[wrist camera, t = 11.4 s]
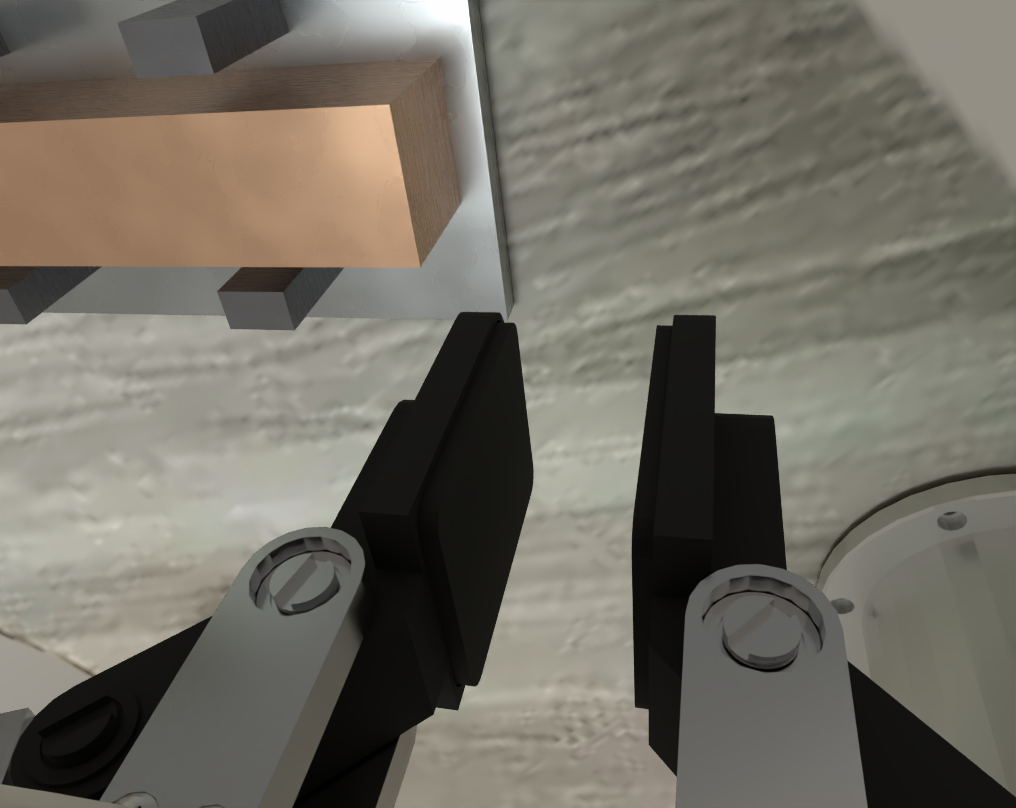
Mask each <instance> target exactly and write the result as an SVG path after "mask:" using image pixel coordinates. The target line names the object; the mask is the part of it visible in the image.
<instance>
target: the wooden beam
mask: <svg viewBox="0 0 1016 808" xmlns="http://www.w3.org/2000/svg"><path fill="white" fill-rule="evenodd" d="M460 205H461V198H460V191H459V185H458V178H457V171H456V164H455V158H454V151H453V144H452V137H451V131H450V124H449V117H448V110H447V104H446V97H445V90H444V83H443V77H442V70H441V63H440V58H424V59H407V60H391V61H374V62H358V63H342V64H325V65H309V66H293V67H276V68H260V69H243V70H227V71H219V72H217V73H215V74H207V75H191V76H176V77H160V78H144V79H138V78H137V76H129V77H112V78H96V79H79V80H63V81H47V82H30V83H14V84H0V266H130V267H369V268H421V266H422V264H423V263H424V261H425V260H426V258H427V257H428V255H429V253H430V252H431V250H432V249H433V247H434V246H435V244H436V242H437V241H438V239H439V238H440V236H441V235H442V233H443V231H444V230H445V228H446V227H447V225H448V223H449V222H450V220H451V219H452V217H453V216H454V214H455V212H456V211H457V209H458V208H459V206H460Z"/></svg>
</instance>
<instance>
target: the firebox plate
mask: <svg viewBox="0 0 1016 808" xmlns="http://www.w3.org/2000/svg"><path fill="white" fill-rule="evenodd" d="M424 58H440V63H441V70H442V77H443V83H444V90H445V97H446V104H447V110H448V117H449V124H450V131H451V137H452V144H453V151H454V158H455V164H456V171H457V178H458V185H459V191H460V198H461V205H460V206H459V208H458V209H457V211H456V212H455V214H454V216H453V217H452V219H451V220H450V222H449V223H448V225H447V227H446V228H445V230H444V231H443V233H442V235H441V236H440V238H439V239H438V241H437V242H436V244H435V246H434V247H433V249H432V250H431V252H430V253H429V255H428V257H427V258H426V260H425V261H424V263H423V264H422V266H421V268H369V267H130V266H0V324H28V323H29V322H30V321H31V320H33V319H34V318H35V317H37V316H38V315H39V314H41V313H42V312H52V313H108V314H165V315H221V316H226V317H227V320H228V323H229V326H230V328H231V329H261V330H295V329H296V328H297V327H298V325H299V324H300V323H301V322H302V320H303V319H304V318H305V317H334V318H390V319H447V320H456V318H457V316H458V314H459V313H460V312H500V313H501V315H502V317H503V320H504V321H508V318H509V316H510V313H511V311H512V308H513V306H514V300H513V292H512V283H511V275H510V266H509V258H508V250H507V241H506V233H505V224H504V216H503V207H502V199H501V190H500V182H499V173H498V165H497V157H496V148H495V140H494V131H493V123H492V114H491V106H490V97H489V89H488V80H487V72H486V63H485V55H484V47H483V38H482V30H481V21H480V13H479V4H478V0H0V84H14V83H30V82H47V81H63V80H79V79H96V78H112V77H129V76H137V78H138V79H144V78H160V77H176V76H191V75H207V74H215V73H217V72H219V71H227V70H243V69H260V68H276V67H293V66H309V65H325V64H342V63H358V62H374V61H391V60H407V59H424Z"/></svg>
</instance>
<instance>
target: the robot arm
mask: <svg viewBox="0 0 1016 808" xmlns="http://www.w3.org/2000/svg"><path fill="white" fill-rule="evenodd" d="M715 340H716V316H710V315H674V318H673V326H660V325H657V329H656V337H655V345H654V353H653V361H652V369H651V377H650V385H649V394H648V402H647V410H646V418H645V426H644V434H643V442H642V450H641V458H640V466H639V474H638V483H637V491H636V499H635V507H634V516H633V529H632V592H633V640H634V688H635V707H636V708H643V709H649V745H650V747H651V748H652V749H653V750H654V751H655V752H656V754H657V755H658V756H659V757H660V758H661V759H662V760H663V762H664V763H665V764H666V765H667V766H668V767H669V768H670V770H671V771H672V772H673V773H674V774H675V775H676V776H677V786H676V805H675V808H1016V474H1004V475H990V476H984V477H978V478H973V479H968V480H963V481H958V482H952V483H947V484H944V485H941V486H938V487H935V488H932V489H929V490H926V491H923V492H920V493H917V494H914V495H911V496H908V497H906V498H904V499H902V500H900V501H898V502H896V503H894V504H892V505H890V506H888V507H886V508H884V509H882V510H880V511H878V512H877V513H875V514H874V515H872V516H871V517H870V518H868V519H867V520H865V521H864V522H862V523H861V524H860V525H858V526H857V527H855V528H854V529H853V530H852V531H851V532H850V533H849V534H848V535H847V536H846V537H845V538H844V539H843V540H842V541H841V542H840V543H839V544H838V545H837V546H836V547H835V548H834V549H833V551H832V553H831V554H830V556H829V558H828V559H827V561H826V563H825V564H824V566H823V568H822V569H821V573H820V576H819V580H818V584H817V587H815V586H814V585H813V584H811V583H810V582H809V581H807V580H806V579H805V578H802V577H800V576H798V575H796V574H793V573H791V572H789V571H787V568H786V556H785V543H784V531H783V519H782V507H781V495H780V483H779V470H778V458H777V446H776V434H775V424H774V418H773V416H767V415H744V414H721V413H715ZM532 487H533V461H532V452H531V444H530V435H529V427H528V418H527V410H526V401H525V393H524V384H523V376H522V367H521V359H520V350H519V342H518V334H517V328H516V325H515V324H514V323H504V320H503V317H502V315H501V313H500V312H460V313H459V314H458V316H457V318H456V320H455V322H454V324H453V326H452V328H451V330H450V332H449V334H448V336H447V337H446V339H445V341H444V343H443V345H442V347H441V349H440V351H439V353H438V355H437V357H436V359H435V361H434V363H433V365H432V367H431V369H430V371H429V373H428V375H427V377H426V379H425V381H424V383H423V385H422V387H421V389H420V391H419V393H418V395H417V397H416V399H415V400H403V401H401V402H399V403H398V404H397V406H396V407H395V408H394V410H393V412H392V414H391V416H390V418H389V419H388V421H387V423H386V425H385V427H384V429H383V431H382V433H381V434H380V436H379V438H378V440H377V442H376V444H375V446H374V448H373V449H372V451H371V453H370V455H369V457H368V459H367V461H366V463H365V464H364V466H363V468H362V470H361V472H360V474H359V476H358V478H357V479H356V481H355V483H354V485H353V487H352V489H351V491H350V493H349V494H348V496H347V498H346V500H345V502H344V504H343V506H342V508H341V509H340V511H339V513H338V515H337V517H336V519H335V521H334V523H333V524H332V526H331V528H328V527H313V528H304V529H300V530H296V531H293V532H289V533H286V534H284V535H282V536H280V537H278V538H276V539H274V540H272V541H270V542H269V543H267V544H266V545H265V546H263V547H262V548H261V549H259V550H258V551H257V552H256V553H254V554H253V555H252V557H251V558H250V559H249V560H248V562H247V563H246V564H245V565H244V566H243V568H242V569H241V571H240V572H239V574H238V576H237V577H236V579H235V581H234V582H233V584H232V585H231V587H230V589H229V590H228V592H227V594H226V595H225V597H224V598H223V600H222V602H221V603H220V605H219V607H218V608H217V610H216V611H215V613H214V615H213V616H211V617H209V618H207V619H206V620H204V621H202V622H200V623H198V624H196V625H194V626H192V627H190V628H188V629H186V630H184V631H182V632H180V633H178V634H176V635H174V636H172V637H170V638H168V639H166V640H164V641H162V642H160V643H158V644H156V645H154V646H152V647H150V648H148V649H147V650H145V651H143V652H141V653H139V654H137V655H135V656H133V657H131V658H129V659H127V660H125V661H123V662H121V663H119V664H117V665H115V666H113V667H111V668H109V669H107V670H105V671H103V672H101V673H99V674H97V675H95V676H93V677H91V678H89V679H88V680H86V681H84V682H82V683H80V684H78V685H76V686H74V687H73V688H71V689H69V690H68V691H66V692H65V693H63V694H61V695H60V696H58V697H57V698H55V699H54V700H53V701H51V702H50V703H49V704H48V705H47V706H46V707H45V708H44V709H43V710H42V711H41V712H39V713H38V714H37V715H36V716H35V715H34V714H33V713H32V711H31V710H30V709H29V708H24V709H20V710H15V711H11V712H6V713H2V714H0V808H394V806H395V803H396V800H397V796H398V793H399V790H400V787H401V784H402V781H403V778H404V774H405V771H406V768H407V765H408V762H409V759H410V756H411V753H412V749H413V746H414V743H415V737H416V731H417V724H419V723H420V722H422V721H424V720H425V719H427V718H428V717H430V716H432V715H433V714H434V711H435V708H436V707H437V708H444V709H452V710H458V709H459V705H460V702H461V698H462V695H463V691H464V688H465V685H468V686H477V685H478V683H479V681H480V678H481V675H482V672H483V668H484V664H485V661H486V657H487V653H488V650H489V646H490V643H491V639H492V635H493V632H494V628H495V624H496V621H497V617H498V613H499V610H500V606H501V602H502V599H503V595H504V591H505V588H506V584H507V580H508V577H509V573H510V569H511V566H512V562H513V558H514V555H515V551H516V547H517V544H518V540H519V536H520V533H521V529H522V525H523V522H524V518H525V514H526V511H527V507H528V503H529V500H530V496H531V492H532Z"/></svg>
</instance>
